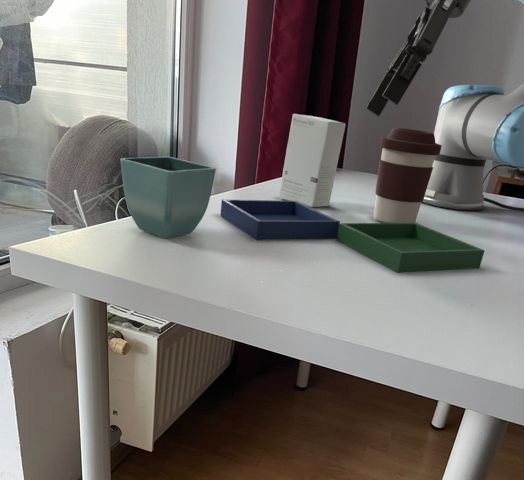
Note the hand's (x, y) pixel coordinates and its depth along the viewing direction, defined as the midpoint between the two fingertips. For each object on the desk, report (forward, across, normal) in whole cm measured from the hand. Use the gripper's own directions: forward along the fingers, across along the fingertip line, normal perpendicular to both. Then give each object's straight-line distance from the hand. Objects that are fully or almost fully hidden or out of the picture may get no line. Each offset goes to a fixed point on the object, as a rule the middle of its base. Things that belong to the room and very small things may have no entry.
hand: (380, 106), depth 92 cm
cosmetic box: (+19, -8, -2) cm, 21 cm away
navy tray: (+25, +14, -6) cm, 29 cm away
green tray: (+19, +21, +11) cm, 30 cm away
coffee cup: (+14, 0, +12) cm, 19 cm away
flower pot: (+33, +24, -19) cm, 45 cm away
